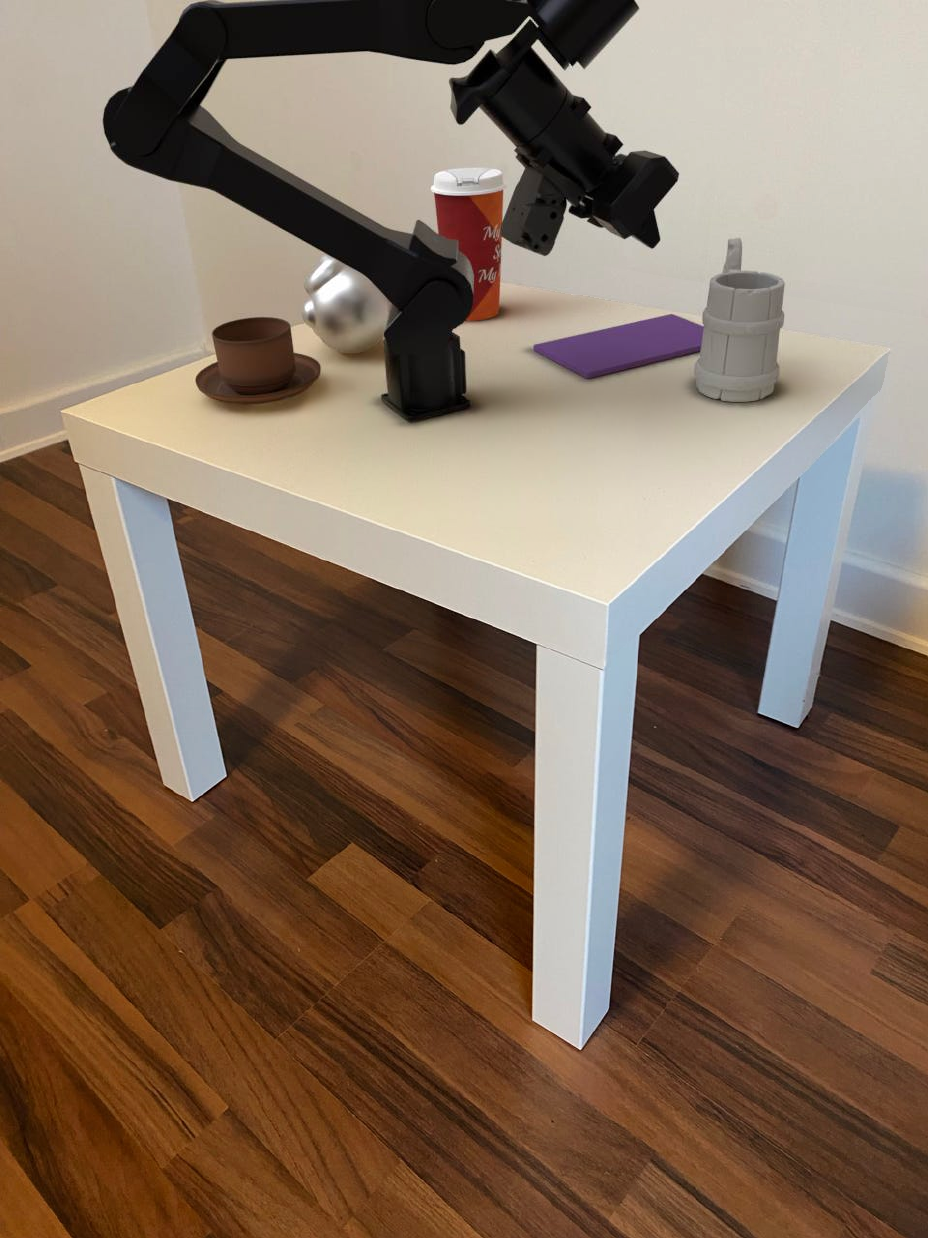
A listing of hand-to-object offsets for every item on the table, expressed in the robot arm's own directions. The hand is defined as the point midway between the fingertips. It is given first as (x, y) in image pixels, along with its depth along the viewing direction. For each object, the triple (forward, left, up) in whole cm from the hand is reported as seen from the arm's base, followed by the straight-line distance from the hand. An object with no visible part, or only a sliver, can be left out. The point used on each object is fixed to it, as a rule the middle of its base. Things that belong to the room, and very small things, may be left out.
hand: (655, 243), depth 87 cm
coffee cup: (-3, +28, -13) cm, 31 cm away
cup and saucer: (-32, +18, -13) cm, 39 cm away
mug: (+7, -4, -13) cm, 15 cm away
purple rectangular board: (+5, +8, -13) cm, 16 cm away
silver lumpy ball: (-20, +24, -13) cm, 34 cm away
